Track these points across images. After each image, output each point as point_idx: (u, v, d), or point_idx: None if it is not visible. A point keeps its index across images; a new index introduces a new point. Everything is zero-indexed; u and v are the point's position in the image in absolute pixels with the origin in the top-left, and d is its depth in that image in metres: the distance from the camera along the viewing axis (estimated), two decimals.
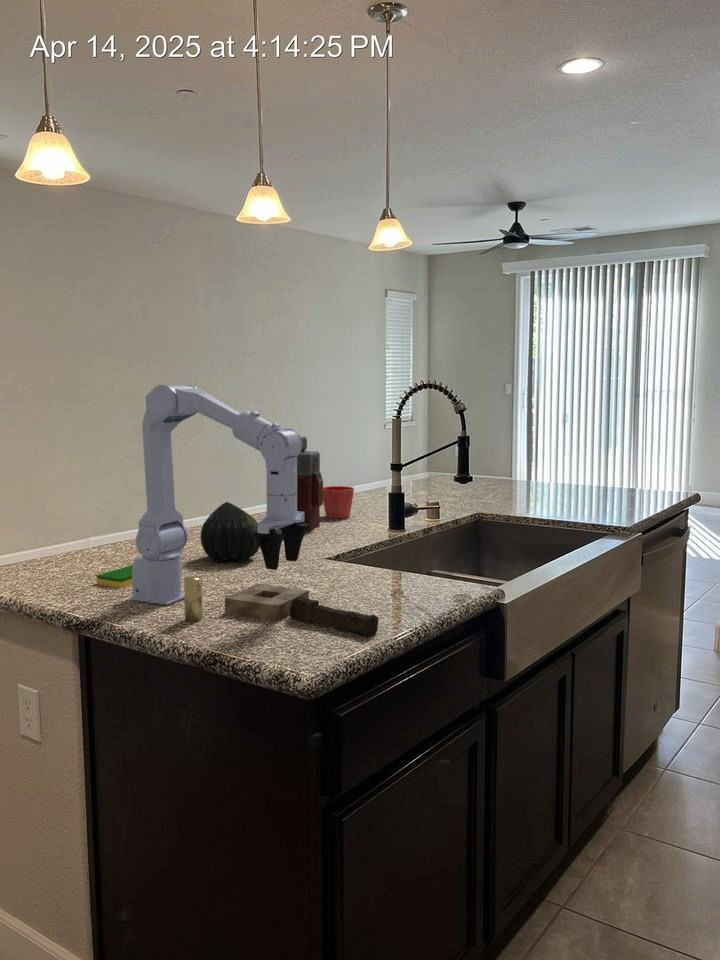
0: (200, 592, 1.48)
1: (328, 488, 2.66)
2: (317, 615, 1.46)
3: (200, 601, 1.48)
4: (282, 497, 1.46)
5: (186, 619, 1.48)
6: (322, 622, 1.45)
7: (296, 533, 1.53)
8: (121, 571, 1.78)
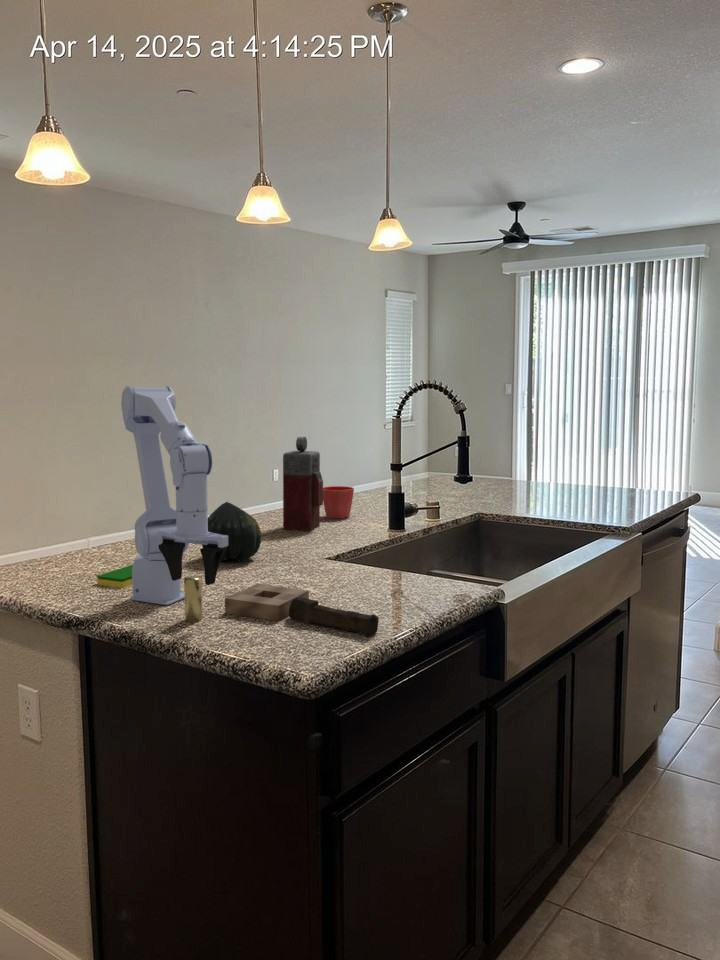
0: (200, 592, 1.48)
1: (328, 488, 2.66)
2: (317, 615, 1.46)
3: (200, 601, 1.48)
4: (176, 511, 1.46)
5: (186, 619, 1.48)
6: (322, 622, 1.45)
7: None
8: (121, 571, 1.78)
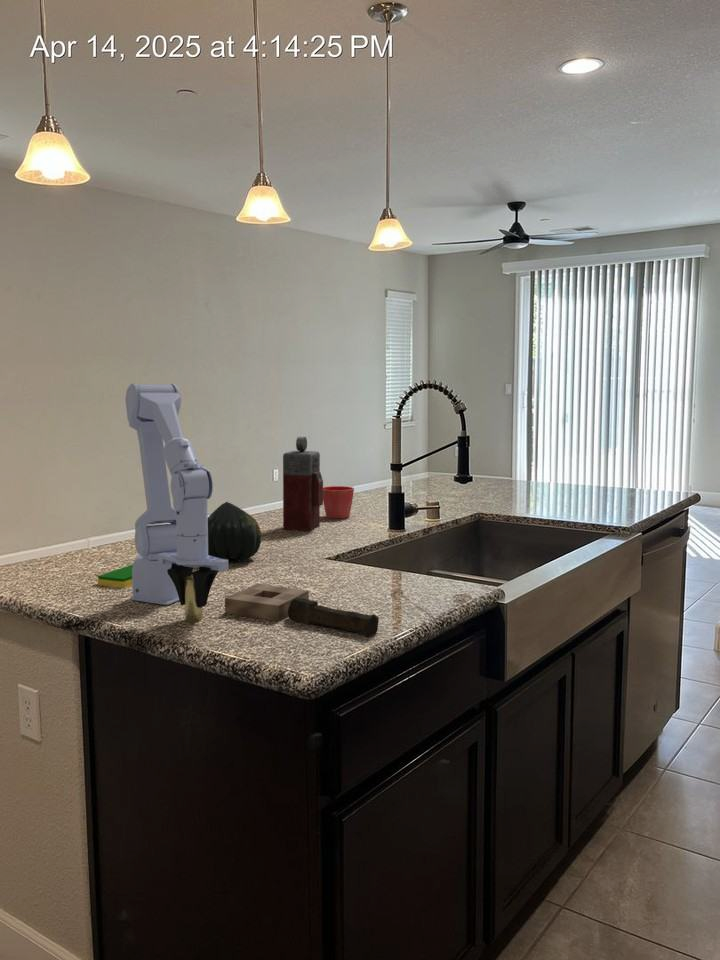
0: None
1: (328, 488, 2.66)
2: (316, 615, 1.46)
3: None
4: None
5: (186, 619, 1.48)
6: (322, 622, 1.45)
7: None
8: (121, 571, 1.78)
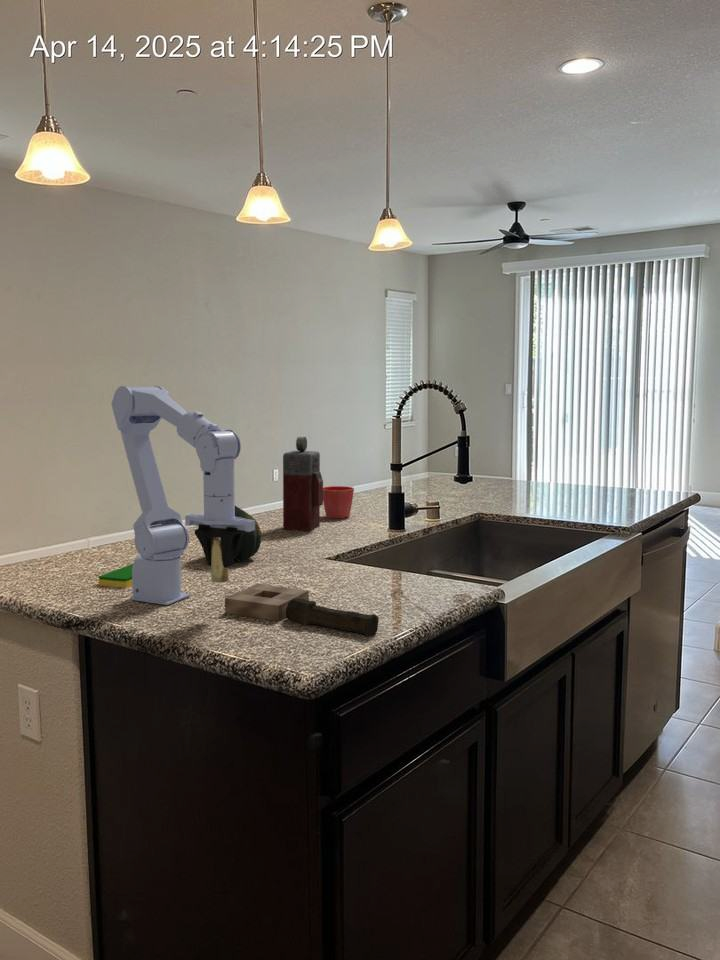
0: None
1: (328, 488, 2.66)
2: (315, 616, 1.45)
3: None
4: None
5: (212, 579, 1.50)
6: (321, 623, 1.45)
7: None
8: (121, 571, 1.78)
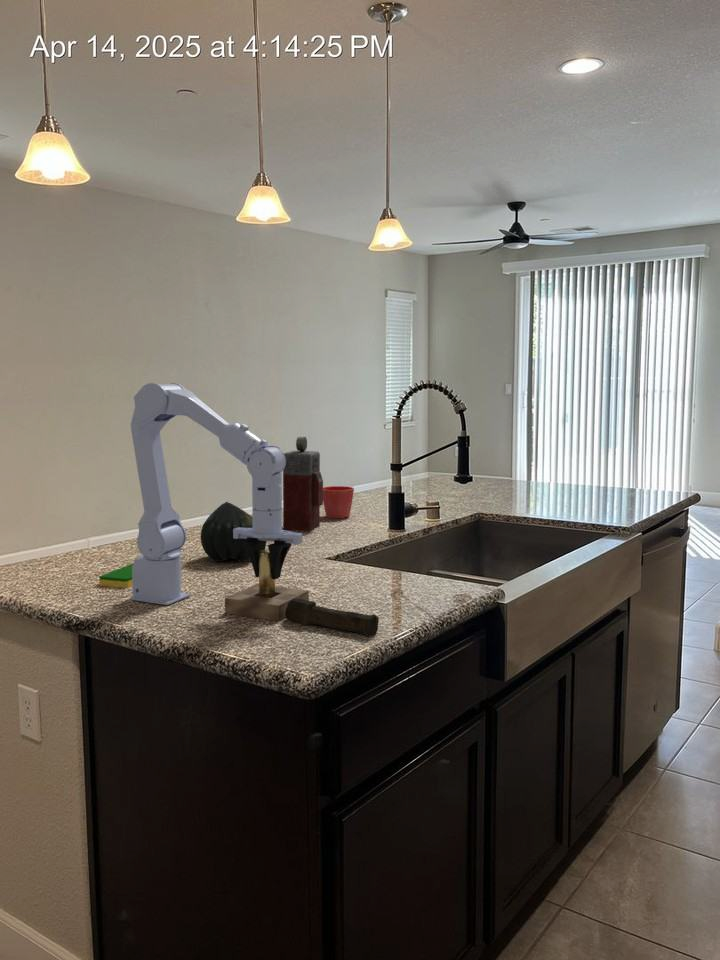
0: None
1: (328, 488, 2.66)
2: (315, 616, 1.45)
3: None
4: (252, 510, 1.54)
5: (260, 591, 1.55)
6: (321, 623, 1.45)
7: None
8: (121, 571, 1.78)
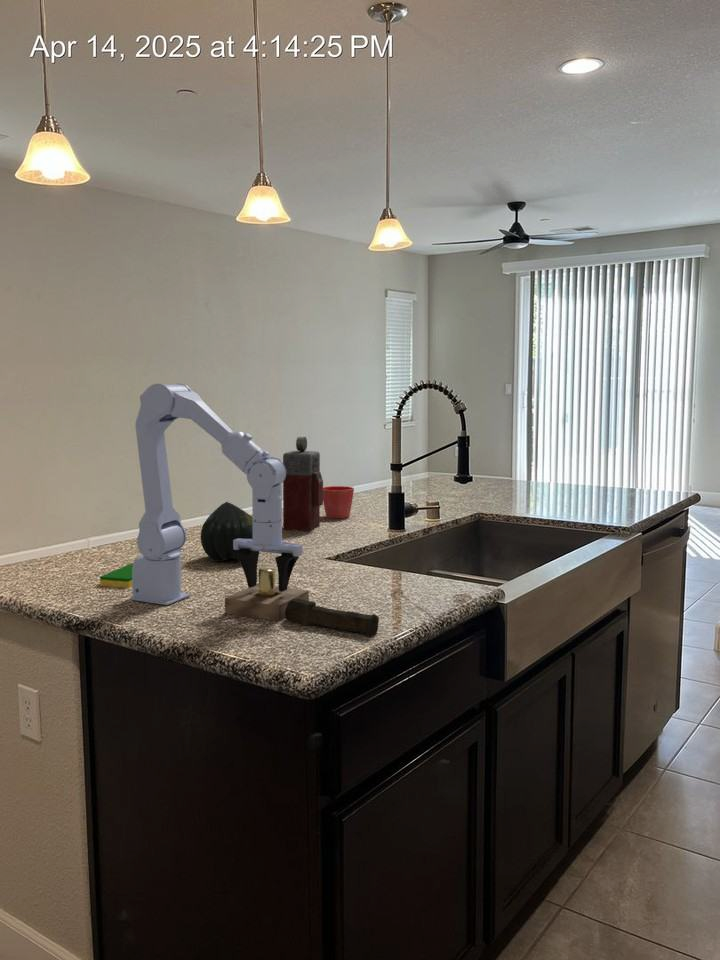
0: (273, 583, 1.55)
1: (328, 488, 2.66)
2: (315, 616, 1.45)
3: (273, 592, 1.55)
4: None
5: None
6: (321, 623, 1.45)
7: None
8: (122, 571, 1.78)
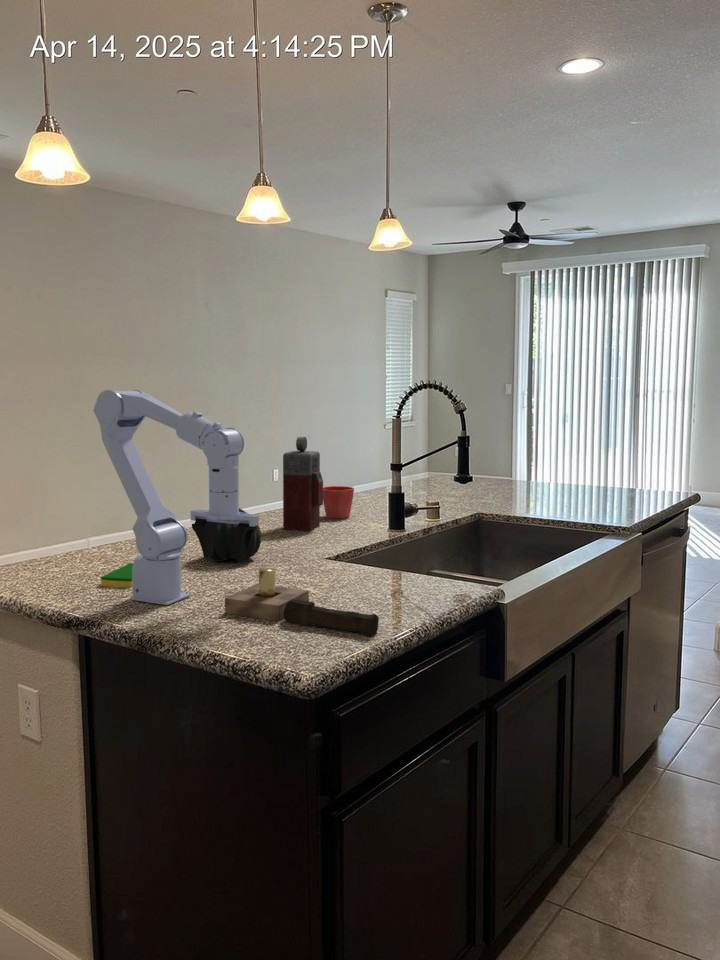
0: (273, 583, 1.55)
1: (328, 488, 2.66)
2: (315, 617, 1.45)
3: (273, 592, 1.55)
4: (209, 492, 1.54)
5: None
6: (321, 624, 1.44)
7: None
8: (122, 571, 1.78)
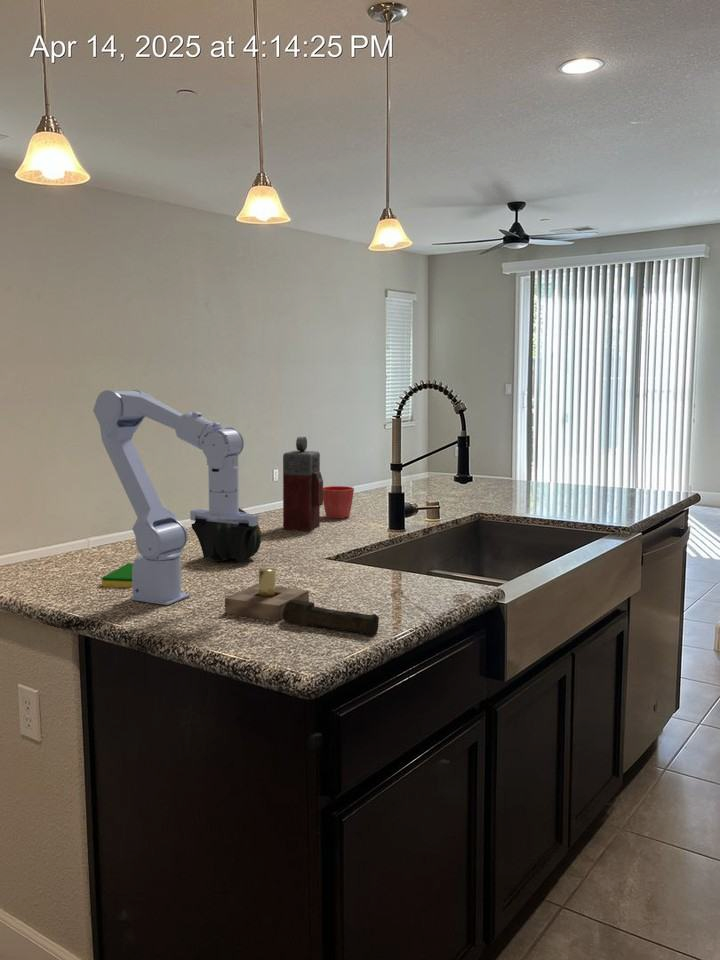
0: (273, 583, 1.55)
1: (328, 488, 2.66)
2: (315, 617, 1.45)
3: (273, 592, 1.55)
4: None
5: None
6: (321, 624, 1.44)
7: None
8: (122, 572, 1.77)
